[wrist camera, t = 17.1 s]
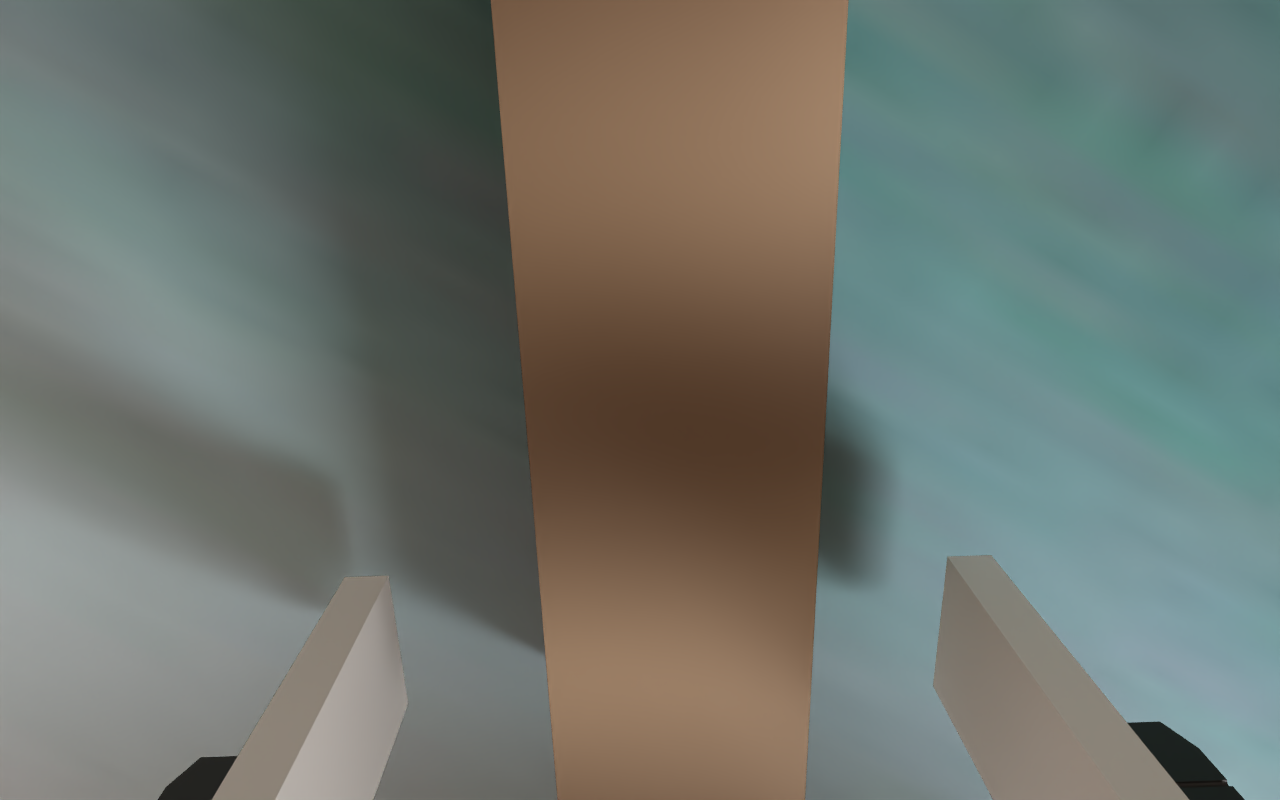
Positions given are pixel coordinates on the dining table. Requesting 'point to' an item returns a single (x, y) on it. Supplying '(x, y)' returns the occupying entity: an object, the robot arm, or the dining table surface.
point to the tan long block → (675, 375)
